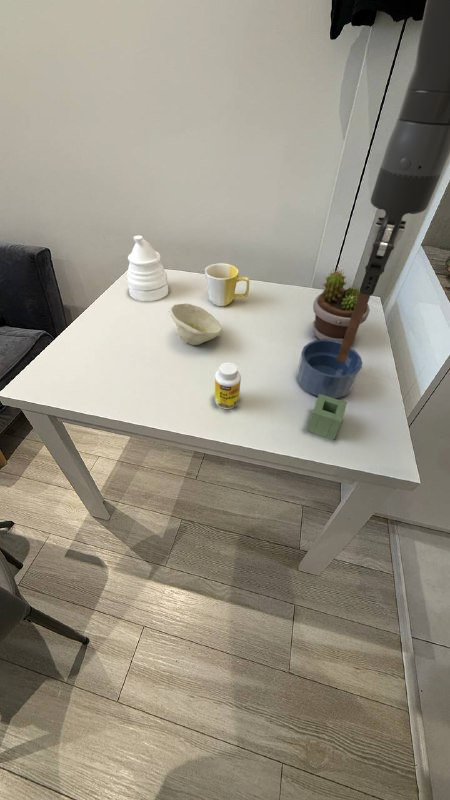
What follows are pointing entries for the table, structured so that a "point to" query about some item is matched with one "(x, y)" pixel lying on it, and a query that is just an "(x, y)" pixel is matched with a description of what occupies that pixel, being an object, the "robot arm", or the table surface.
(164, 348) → the table surface
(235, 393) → the supplement bottle
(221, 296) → the mug
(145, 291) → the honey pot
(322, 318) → the flowerpot
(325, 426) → the stick holder
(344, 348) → the brown stick
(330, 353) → the blue round tub
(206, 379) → the table surface
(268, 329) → the table surface
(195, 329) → the bowl
